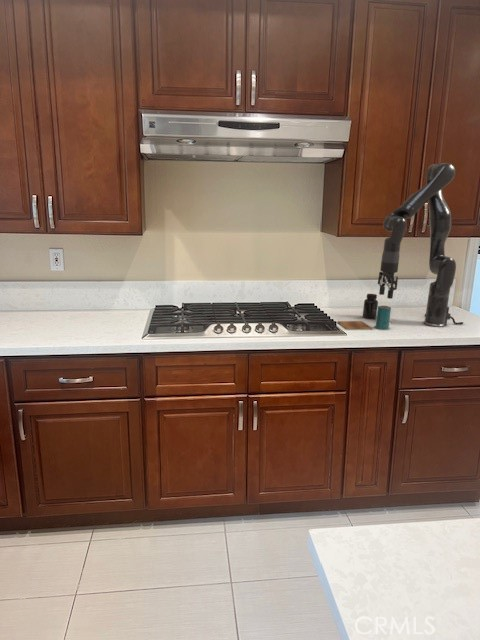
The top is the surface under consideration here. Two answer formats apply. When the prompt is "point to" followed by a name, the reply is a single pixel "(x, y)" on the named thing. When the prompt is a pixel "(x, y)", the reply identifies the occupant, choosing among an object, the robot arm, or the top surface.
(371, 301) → the supplement bottle
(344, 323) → the cork coaster
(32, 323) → the top surface
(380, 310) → the teal can
